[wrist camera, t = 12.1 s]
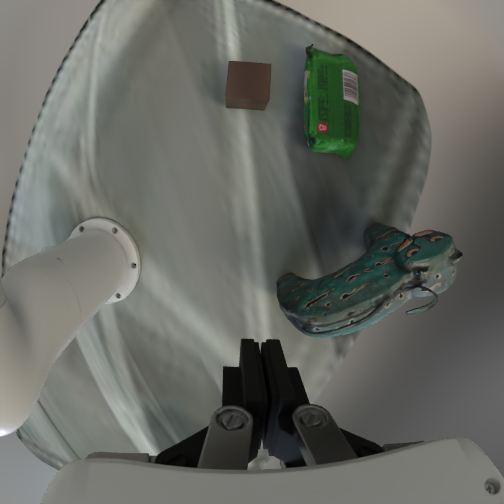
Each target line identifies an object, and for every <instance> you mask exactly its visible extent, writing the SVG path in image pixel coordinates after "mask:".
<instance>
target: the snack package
mask: <svg viewBox="0 0 504 504" xmlns="http://www.w3.org/2000/svg"><path fill="white" fill-rule="evenodd" d="M312 46H313V44H312V45H311V46H308V47H306V53H307V59H306V65H305V71H304V133H305V137H306V140H307V143H308V146H309V148H310V149H311V150H312V151H314V152H327V153H334V154H337V155H339V156H341V157H342V158H345V159H349V158H350V156H351V154H352V152H353V150H354V148H355V146H356V144H357V141H358V137H359V128H360V114H359V110H360V103H359V100H360V93H359V78H358V72H357V69H356V67H355V65H354V63H353V62H352V61H351V60H350V59H349V58H348V57H347V56H345V55H343V54H329V53H326V52H323V51H320V50H317V49H315V48H313V47H312Z"/></svg>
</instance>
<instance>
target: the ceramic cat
mask: <svg viewBox="0 0 504 504" xmlns="http://www.w3.org/2000/svg"><path fill="white" fill-rule="evenodd" d="M364 239H365V242H366V245H367V247H368V249H369V250H368V251H367V252H366V254H364V255H363V256H362V257H360V258H359V259H358V260H356V261H355V262H353V263H351V264H349V265H347V266H345V267H343V268H342V269H340V270H338V271H337V272H335V273H333V274H330V275H327V276H324V277H321V278H318V279H315V280H309V279H303V278H301V277H298V276H296V275H295V274H293V273H290V274H287V275H285V276H283V277H281V278H280V279H279V280H278V281H277V282H276V283H277V298H278V301H279V305H280V308H281V310H282V311H283V312H284V314H285V316H286V317H287V319H288V320H289V321H290V322H291V323H292V325H293V326H294V327H296V328H297V329H298V330H299V331H301V332H302V333H304V334H305V335H308V336H312V337H320V338H323V337H335V336H341V335H346V334H350V333H353V332H355V331H358V330H360V329H363V328H365V327H368V326H370V325H372V324H374V323H376V322H378V321H380V320H381V319H383V318H385V317H386V316H388V315H389V314H391V313H392V312H394V311H395V310H397V309H398V308H399V307H400V306H401V305H402V304H404V302H406V301H407V300H409V299H411V298H419V297H426V296H432V295H434V296H435V298H434V300H433V301H432V302H431V303H430V304H428V305H425V306H422V307H419V308H416V309H413V310H410V311H407V312H406V314H417V313H422V312H425V311H428V310H430V309H431V308H433V307H434V306H435V305H436V303H437V301H438V300H437V299H438V296H437V294H438V293H441V292H443V291H444V290H446V289H447V288H448V287H449V286H450V285H451V284H452V283H453V282H454V280H455V278H456V275H457V262H458V261H459V260H460V259H461V258H462V256H463V254H462V252H460V251H459V250H457V249H456V248H455V245H454V242H453V239H452V237H451V236H450V235H448V234H445V233H442V232H437V231H433V230H425V231H422V232H418V233H415V234H414V235H413V236H410V235H409V234H406V233H404V232H401V231H399V230H398V229H397V228H395V227H390V226H385V225H383V224H380V223H378V224H376V225H375V226H373V227H371V228H369V229H367V230H366V231H365V232H364Z"/></svg>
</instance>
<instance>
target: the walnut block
mask: <svg viewBox="0 0 504 504" xmlns="http://www.w3.org/2000/svg"><path fill="white" fill-rule="evenodd" d="M270 77H271V64H264V63H253V62H239V61H229V66H228V76H227V86H226V108H238V109H253V110H265V108H266V105H267V103H268V101H269V93H270Z"/></svg>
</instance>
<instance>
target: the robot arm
mask: <svg viewBox="0 0 504 504" xmlns="http://www.w3.org/2000/svg"><path fill="white" fill-rule="evenodd" d="M83 227H84V228H83ZM116 228H117V230H118V231H116ZM134 263H135V264H136V265H134ZM140 271H141V261H140V255H139V251H138V248H137V246H136V244H135V242H134V240H133V238H132V237H131V235H130V234H129V233H128V232H127V231H126V230H125V229H124V228H123V227H122V226H121V225H119V224H118V223H116V222H114V221H111V220H109V219H104V218H94V219H90V220H87V221H85V222H83V223H81V224H80V225H78V226H77V227H76V228H75V229H74V230H73V232H72V233H71V235H70V236H69V238H68V240H67V241H65V242H62V243H60V244H58V245H56V246H53V247H43V248H42V250H41V252H40V253H38V254H36V255H33V256H31V257H29V258H26V259H24V260H22V261H20V262H18V263H17V264H15V265H14V266H13V267H12V268H11V269H9V270H8V272H7V273H6V274H5V275H4V277H3V278H2V279H1V278H0V436H4V435H7V434H10V433H12V432H13V431H15V430H16V429H18V428H19V427H20V426H21V425H22V424H23V423H24V422H25V421H26V420H27V418H28V417H29V415H30V414H31V412H32V410H33V408H34V407H35V405H36V403H37V400H38V398H39V396H40V393H41V391H42V388H43V386H44V383H45V380H46V378H47V376H48V374H49V372H50V370H51V368H52V366H53V364H54V363H55V361H56V360H57V358H58V357H59V356H60V354H61V353H62V352H63V350H64V349H65V348H66V347H67V346H68V344H69V343H70V342H71V341H72V340H73V339H74V337H75V336H76V335H77V334H78V333H79V332H80V331H81V329H82V328H83V327H84V326H85V325H86V324H87V323H88V322H89V321H90V319H91V318H92V317H93V316H94V315H95V314H96V313H97V312H98V311H99V310H100V309H101V308H102V306H103V305H104V304H105V303H114V302H118V301H120V300H122V299H124V298H125V297H127V296H128V295H129V294H130V293H131V292H132V290H133V289H134V287H135V286H136V284H137V282H138V279H139V276H140ZM261 441H262V442H263V448H264V449H268V452H269V456H275V457H276V458H278V459H280V465H281V468H282V469H265V470H247V468H248V463H249V462H251V461H252V460H253V459H254V458H256V457H257V454H258V449H260V446H261ZM41 504H504V478H503V477H502V475H501V474H500V472H499V471H498V470H497V468H496V467H495V466H494V464H493V463H492V462H491V460H490V459H489V458H488V457H487V456H486V454H485V453H484V452H483V451H482V450H481V449H480V448H479V447H478V446H477V445H476V444H475V443H473V442H472V441H470V440H468V439H465V438H457V437H446V438H439V439H433V440H428V441H419V442H409V443H397V444H385V445H384V446H383V447H380V446H379V445H378V444H376V443H374V442H371V441H369V440H366V439H364V438H361V437H359V436H357V435H355V434H352V433H350V432H347V431H345V430H343V429H341V428H339V427H338V425H337V424H336V422H335V421H334V419H333V418H332V416H331V414H330V413H329V412H328V411H327V410H326V409H325V408H323V407H321V406H318V405H314V404H310V403H309V400H308V397H307V394H306V391H305V388H304V385H303V382H302V380H301V377H300V374H299V371H298V369H297V367H287V364H286V360H285V357H284V354H283V350H282V347H281V343H280V340H279V339H267V340H266V342H262V344H261V353H260V349H259V343H258V342H254V339H241V346H240V361H239V367H226V366H223V394H222V407H221V408H219V409H217V410H216V411H215V412H214V413H213V415H212V417H211V421H210V424H209V426H207V427H206V428H204V429H202V430H201V431H199V432H197V433H196V434H194V435H192V436H190V437H188V438H187V439H185V440H183V441H181V442H179V443H178V444H176V445H174V446H172V447H170V448H168V449H166V450H164V451H163V452H161V453H160V454H158V456H149V454H148V453H111V452H94V453H91V454H89V455H88V456H87V457H86V458H85V459H82V460H77V461H73V462H70V463H68V464H66V465H65V466H63V467H62V468H61V469H60V470H59V471H58V472H57V474H56V475H55V476H54V478H53V480H52V481H51V483H50V484H49V486H48V488H47V490H46V492H45V495H44V497H43V499H42V501H41Z"/></svg>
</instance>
